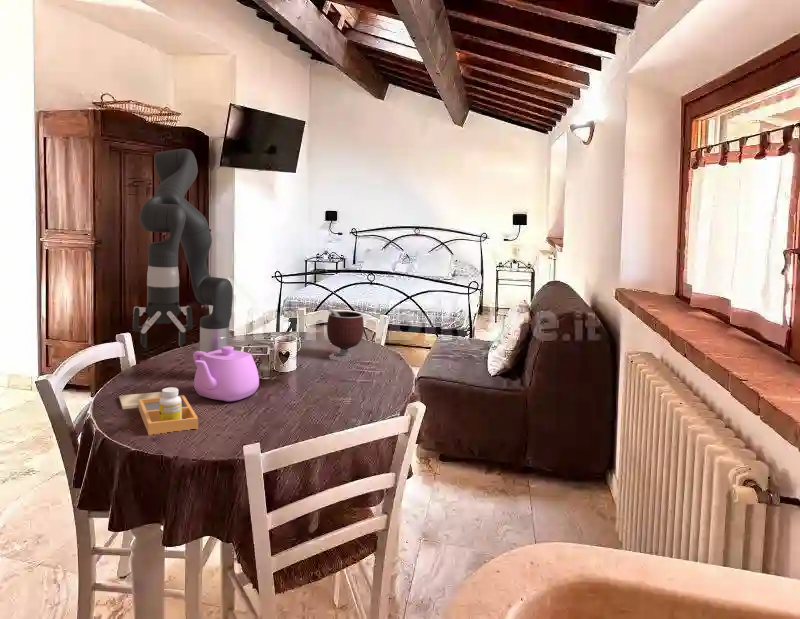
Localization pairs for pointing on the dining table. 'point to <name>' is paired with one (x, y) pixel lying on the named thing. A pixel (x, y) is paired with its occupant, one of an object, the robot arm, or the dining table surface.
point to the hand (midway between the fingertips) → (163, 346)
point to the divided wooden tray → (155, 426)
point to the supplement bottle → (170, 405)
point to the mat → (136, 399)
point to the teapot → (225, 374)
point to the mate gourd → (344, 330)
